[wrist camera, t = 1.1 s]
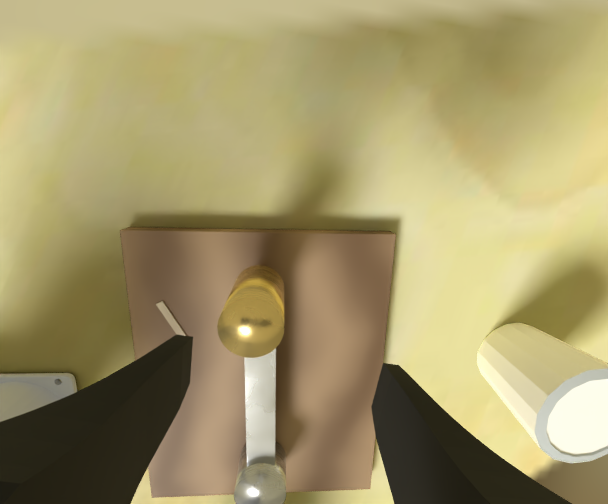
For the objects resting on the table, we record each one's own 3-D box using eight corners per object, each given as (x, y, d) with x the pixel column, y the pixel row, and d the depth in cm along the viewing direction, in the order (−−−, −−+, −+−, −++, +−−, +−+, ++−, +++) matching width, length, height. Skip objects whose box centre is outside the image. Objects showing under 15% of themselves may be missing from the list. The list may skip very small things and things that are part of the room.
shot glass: (481, 311, 24) (557, 365, 18) (562, 319, 25) (665, 373, 18) (460, 387, 26) (521, 462, 19) (536, 392, 27) (621, 467, 20)
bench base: (157, 483, 27) (151, 498, 25) (128, 227, 21) (118, 230, 20) (366, 475, 28) (370, 490, 27) (390, 231, 22) (396, 234, 21)
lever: (240, 476, 25) (224, 591, 18) (234, 255, 21) (208, 297, 14) (285, 474, 25) (286, 587, 18) (288, 256, 21) (291, 297, 14)
